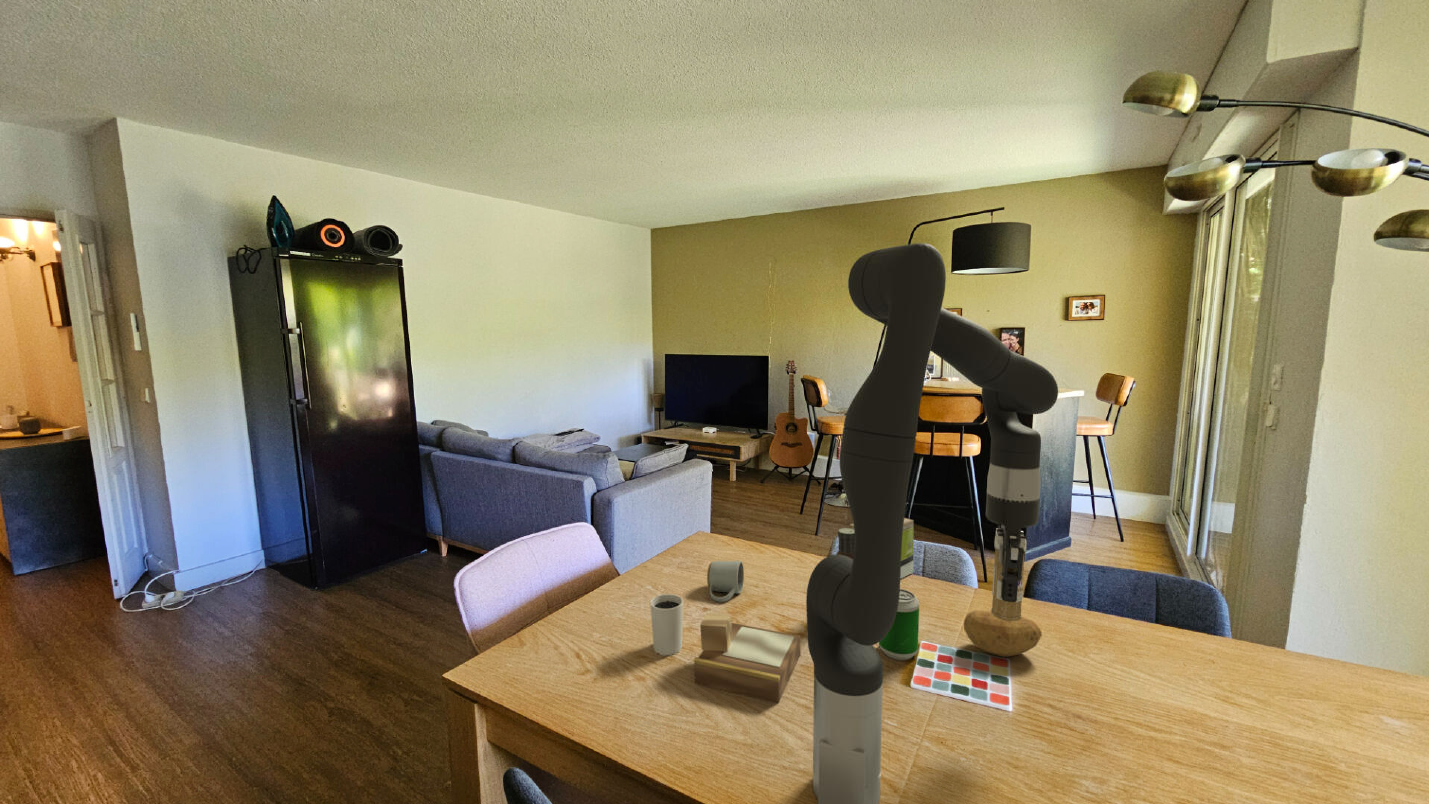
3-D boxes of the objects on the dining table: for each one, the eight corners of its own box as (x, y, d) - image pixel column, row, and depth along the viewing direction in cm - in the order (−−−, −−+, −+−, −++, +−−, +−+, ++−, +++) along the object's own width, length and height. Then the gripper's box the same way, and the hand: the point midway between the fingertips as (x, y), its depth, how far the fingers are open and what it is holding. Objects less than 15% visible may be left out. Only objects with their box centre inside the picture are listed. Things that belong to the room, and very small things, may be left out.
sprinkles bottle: (1005, 624, 91) (1010, 543, 90) (984, 611, 96) (988, 533, 94) (1028, 620, 93) (1033, 540, 91) (1006, 607, 97) (1010, 530, 95)
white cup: (646, 644, 119) (645, 598, 118) (676, 636, 122) (675, 591, 121) (658, 660, 113) (657, 612, 112) (689, 651, 116) (688, 604, 115)
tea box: (881, 562, 159) (882, 510, 158) (914, 573, 152) (915, 519, 150) (847, 577, 150) (848, 522, 148) (880, 590, 142) (882, 533, 140)
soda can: (920, 664, 111) (922, 605, 109) (880, 660, 112) (881, 602, 111) (915, 643, 118) (916, 588, 116) (877, 640, 119) (878, 585, 118)
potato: (1047, 671, 108) (1049, 630, 107) (966, 661, 111) (968, 622, 110) (1032, 643, 117) (1034, 606, 116) (958, 635, 121) (960, 599, 120)
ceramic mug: (713, 582, 148) (712, 554, 147) (744, 585, 146) (744, 556, 145) (702, 602, 138) (702, 571, 137) (736, 605, 136) (735, 574, 135)
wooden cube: (725, 626, 108) (731, 614, 113) (700, 625, 109) (706, 612, 114) (727, 651, 108) (732, 638, 113) (701, 650, 109) (708, 636, 114)
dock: (778, 703, 100) (778, 678, 99) (694, 683, 106) (694, 659, 105) (800, 654, 114) (800, 633, 114) (725, 639, 120) (725, 619, 120)
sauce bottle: (862, 624, 126) (863, 537, 124) (833, 622, 127) (834, 535, 125) (859, 609, 132) (860, 526, 130) (831, 608, 133) (832, 525, 131)
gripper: (1046, 507, 84) (1039, 618, 86) (1033, 483, 97) (1027, 580, 99) (989, 502, 87) (984, 609, 89) (984, 479, 100) (979, 573, 102)
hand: (1007, 593), depth 94 cm, fingers closed on sprinkles bottle, 4 cm apart
